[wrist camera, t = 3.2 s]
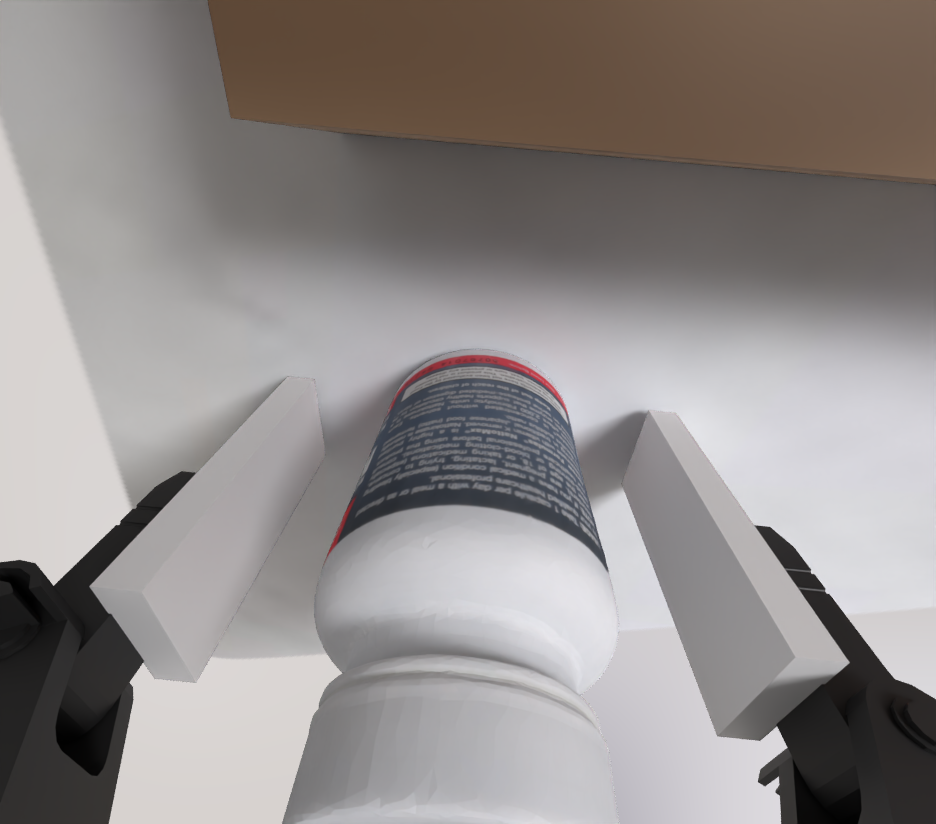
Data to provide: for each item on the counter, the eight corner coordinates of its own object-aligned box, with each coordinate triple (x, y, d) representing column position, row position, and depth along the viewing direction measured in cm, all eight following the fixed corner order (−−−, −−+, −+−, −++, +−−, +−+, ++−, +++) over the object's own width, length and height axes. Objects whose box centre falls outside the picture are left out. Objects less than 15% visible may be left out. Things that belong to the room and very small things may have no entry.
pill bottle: (367, 359, 11) (101, 780, 4) (560, 329, 10) (726, 789, 3) (416, 498, 14) (322, 901, 6) (572, 483, 13) (672, 923, 6)
